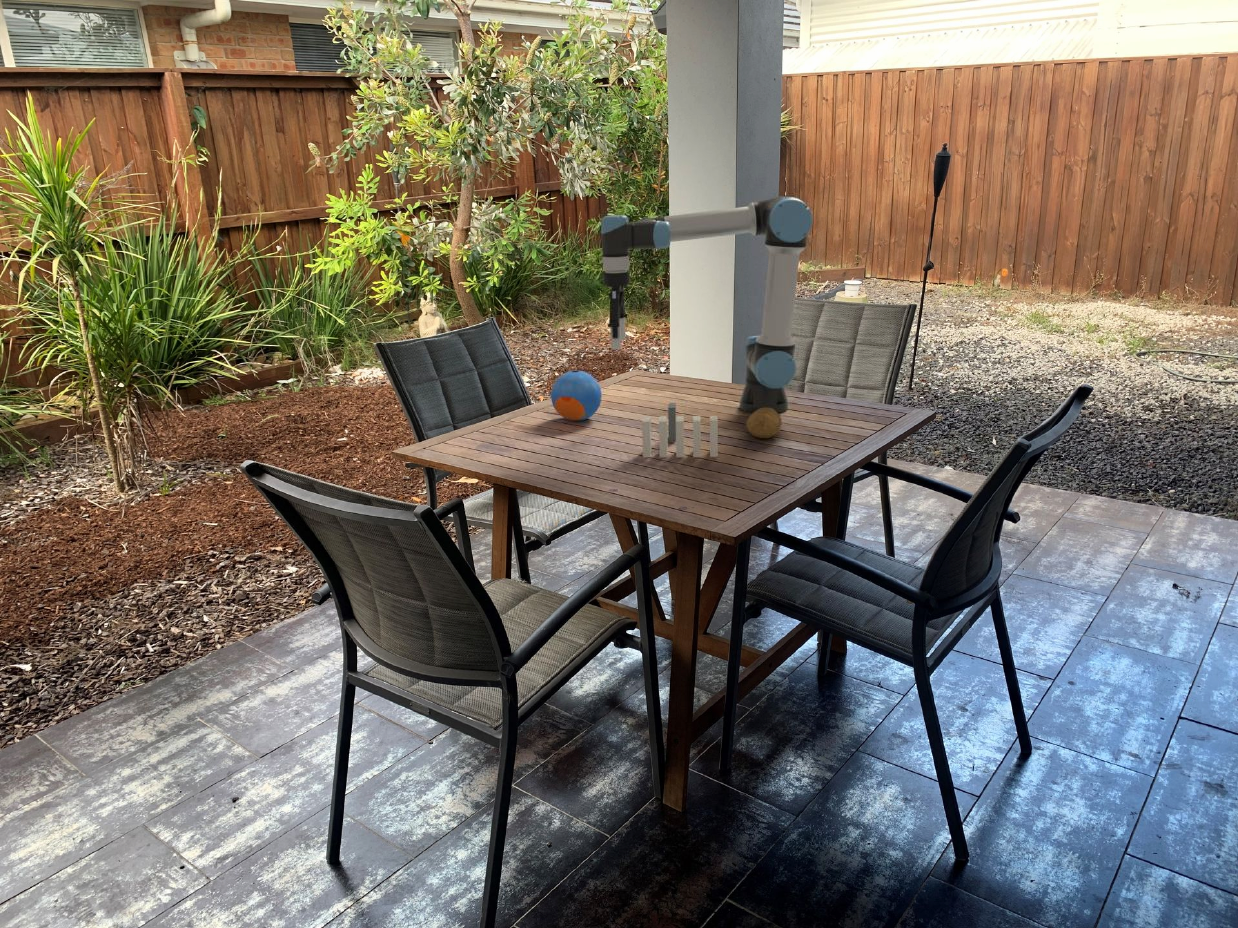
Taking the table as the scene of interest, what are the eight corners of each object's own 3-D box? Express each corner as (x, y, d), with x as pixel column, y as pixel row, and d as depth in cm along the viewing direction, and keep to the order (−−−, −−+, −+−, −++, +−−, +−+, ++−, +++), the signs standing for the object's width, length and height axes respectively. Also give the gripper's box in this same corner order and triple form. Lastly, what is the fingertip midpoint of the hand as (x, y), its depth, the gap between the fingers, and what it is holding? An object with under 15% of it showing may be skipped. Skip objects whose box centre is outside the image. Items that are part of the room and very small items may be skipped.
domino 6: (717, 451, 248) (717, 416, 245) (717, 457, 243) (717, 421, 240) (709, 451, 248) (709, 416, 245) (710, 457, 243) (710, 421, 240)
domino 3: (676, 436, 262) (675, 403, 259) (675, 441, 257) (675, 407, 254) (669, 436, 262) (668, 403, 259) (668, 441, 258) (668, 407, 254)
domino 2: (667, 451, 249) (667, 416, 246) (667, 457, 244) (666, 421, 241) (660, 451, 249) (659, 416, 246) (659, 457, 244) (659, 421, 241)
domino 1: (651, 451, 249) (650, 416, 246) (650, 457, 245) (649, 421, 242) (644, 451, 250) (643, 416, 246) (642, 457, 245) (642, 421, 242)
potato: (782, 430, 265) (783, 403, 262) (779, 444, 252) (780, 416, 249) (749, 429, 267) (749, 402, 264) (744, 443, 254) (744, 415, 251)
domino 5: (700, 451, 248) (700, 416, 245) (700, 457, 244) (700, 421, 240) (693, 451, 248) (693, 416, 245) (693, 457, 244) (693, 421, 240)
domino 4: (684, 451, 249) (683, 416, 245) (683, 457, 244) (683, 421, 241) (676, 451, 249) (676, 416, 246) (676, 457, 244) (675, 421, 241)
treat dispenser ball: (544, 424, 278) (541, 375, 273) (565, 411, 292) (562, 364, 287) (590, 428, 273) (588, 378, 268) (609, 415, 286) (608, 367, 281)
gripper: (608, 266, 273) (610, 336, 280) (597, 277, 249) (600, 353, 256) (633, 266, 272) (635, 336, 279) (624, 276, 248) (627, 353, 255)
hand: (618, 344), depth 267 cm, fingers open, 13 cm apart
